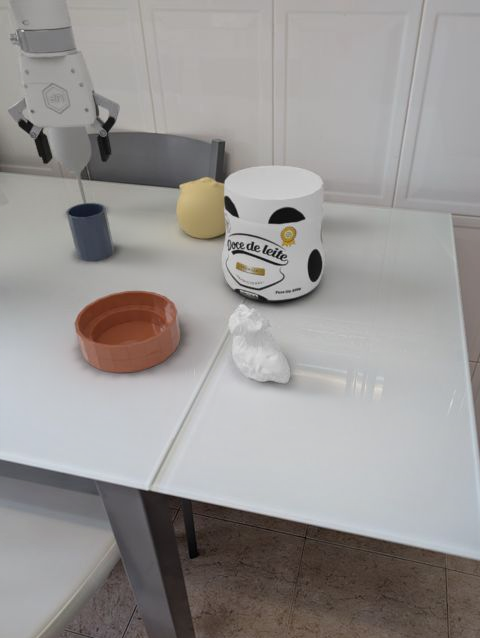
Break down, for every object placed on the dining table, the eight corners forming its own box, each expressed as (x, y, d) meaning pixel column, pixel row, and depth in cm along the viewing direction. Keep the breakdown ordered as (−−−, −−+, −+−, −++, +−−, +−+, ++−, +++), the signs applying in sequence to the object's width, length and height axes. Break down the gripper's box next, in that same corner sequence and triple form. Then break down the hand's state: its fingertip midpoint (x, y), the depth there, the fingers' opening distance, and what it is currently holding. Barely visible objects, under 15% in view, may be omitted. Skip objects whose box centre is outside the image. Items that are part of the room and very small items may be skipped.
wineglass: (62, 216, 110) (35, 113, 97) (89, 205, 115) (67, 106, 102) (84, 224, 106) (59, 119, 93) (111, 212, 111) (91, 111, 98)
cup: (74, 264, 92) (62, 218, 87) (82, 247, 98) (71, 203, 92) (111, 263, 93) (101, 217, 87) (117, 246, 98) (108, 202, 92)
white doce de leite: (228, 316, 79) (222, 206, 68) (219, 264, 92) (212, 166, 81) (334, 306, 81) (345, 198, 70) (309, 257, 94) (315, 160, 83)
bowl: (72, 378, 67) (63, 349, 64) (94, 319, 78) (87, 292, 75) (176, 373, 68) (172, 344, 65) (183, 316, 79) (180, 289, 76)
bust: (238, 358, 74) (188, 322, 66) (273, 321, 73) (228, 280, 65) (278, 408, 65) (227, 374, 57) (318, 368, 65) (272, 327, 57)
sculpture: (240, 222, 107) (238, 171, 100) (227, 246, 98) (224, 193, 91) (189, 218, 109) (184, 168, 102) (171, 242, 99) (165, 189, 93)
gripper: (-21, 47, 70) (18, 169, 81) (102, 44, 71) (125, 165, 81) (-2, 40, 76) (32, 155, 87) (112, 37, 77) (131, 151, 87)
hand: (77, 160), depth 84 cm, fingers open, 9 cm apart
